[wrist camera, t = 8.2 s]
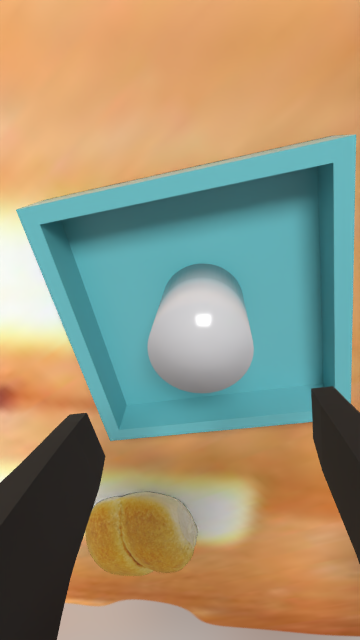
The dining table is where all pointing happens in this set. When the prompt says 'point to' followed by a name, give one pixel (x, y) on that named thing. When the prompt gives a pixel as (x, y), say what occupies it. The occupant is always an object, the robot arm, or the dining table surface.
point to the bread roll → (141, 534)
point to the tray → (217, 249)
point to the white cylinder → (201, 331)
